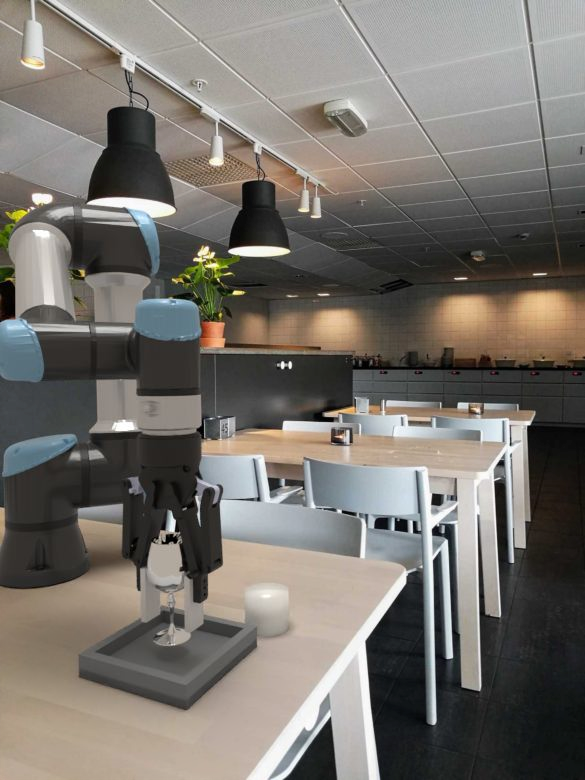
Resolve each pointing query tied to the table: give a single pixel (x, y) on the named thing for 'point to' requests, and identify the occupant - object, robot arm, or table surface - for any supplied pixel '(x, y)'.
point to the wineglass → (168, 580)
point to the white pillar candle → (267, 608)
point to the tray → (168, 658)
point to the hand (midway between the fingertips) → (172, 622)
